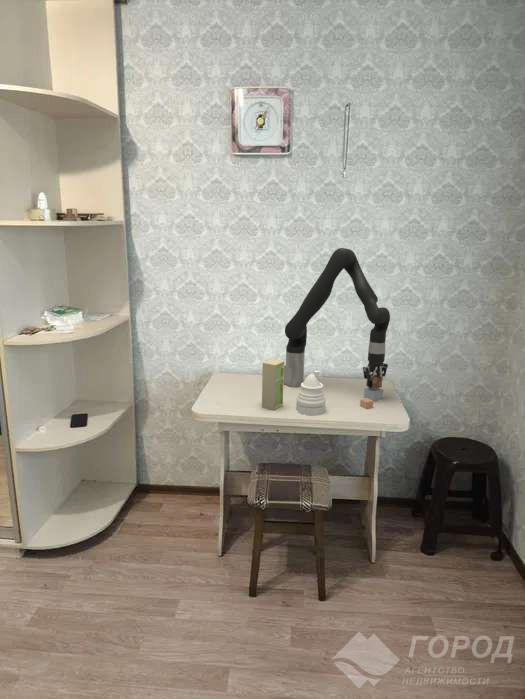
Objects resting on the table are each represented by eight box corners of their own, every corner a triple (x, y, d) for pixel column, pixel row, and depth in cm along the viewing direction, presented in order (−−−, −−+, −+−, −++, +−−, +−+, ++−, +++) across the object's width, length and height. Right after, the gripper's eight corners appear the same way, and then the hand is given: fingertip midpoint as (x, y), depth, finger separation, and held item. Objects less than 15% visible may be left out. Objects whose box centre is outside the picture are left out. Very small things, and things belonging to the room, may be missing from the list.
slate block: (373, 402, 244) (373, 391, 243) (363, 398, 249) (364, 388, 247) (382, 399, 247) (383, 389, 246) (373, 396, 252) (374, 386, 251)
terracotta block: (365, 410, 235) (366, 402, 234) (359, 407, 238) (360, 399, 237) (372, 409, 237) (373, 400, 236) (366, 406, 241) (367, 398, 240)
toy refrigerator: (275, 410, 233) (276, 365, 228) (261, 407, 237) (262, 362, 231) (284, 405, 240) (285, 360, 234) (270, 402, 243) (271, 358, 238)
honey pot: (323, 405, 241) (325, 367, 236) (326, 415, 229) (328, 375, 224) (295, 404, 241) (296, 366, 236) (297, 415, 228) (298, 375, 224)
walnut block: (374, 388, 243) (374, 378, 242) (366, 385, 247) (367, 375, 246) (381, 387, 246) (382, 376, 244) (374, 384, 250) (374, 374, 248)
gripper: (382, 347, 249) (379, 381, 253) (359, 351, 241) (356, 386, 246) (393, 351, 243) (390, 386, 247) (371, 355, 235) (368, 391, 239)
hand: (374, 386), depth 246 cm, fingers closed on walnut block, 5 cm apart
